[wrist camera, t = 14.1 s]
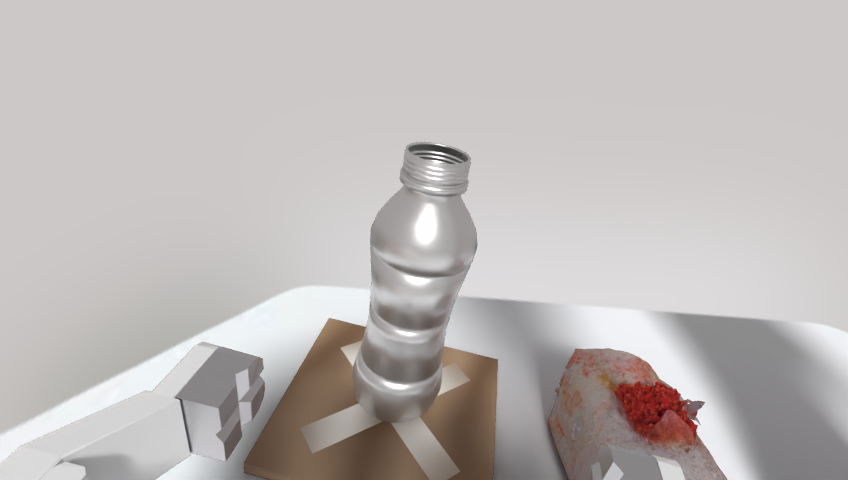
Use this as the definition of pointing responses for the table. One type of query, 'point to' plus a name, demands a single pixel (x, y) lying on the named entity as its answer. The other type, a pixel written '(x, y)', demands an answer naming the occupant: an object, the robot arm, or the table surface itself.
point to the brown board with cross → (377, 422)
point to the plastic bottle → (414, 283)
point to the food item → (624, 415)
